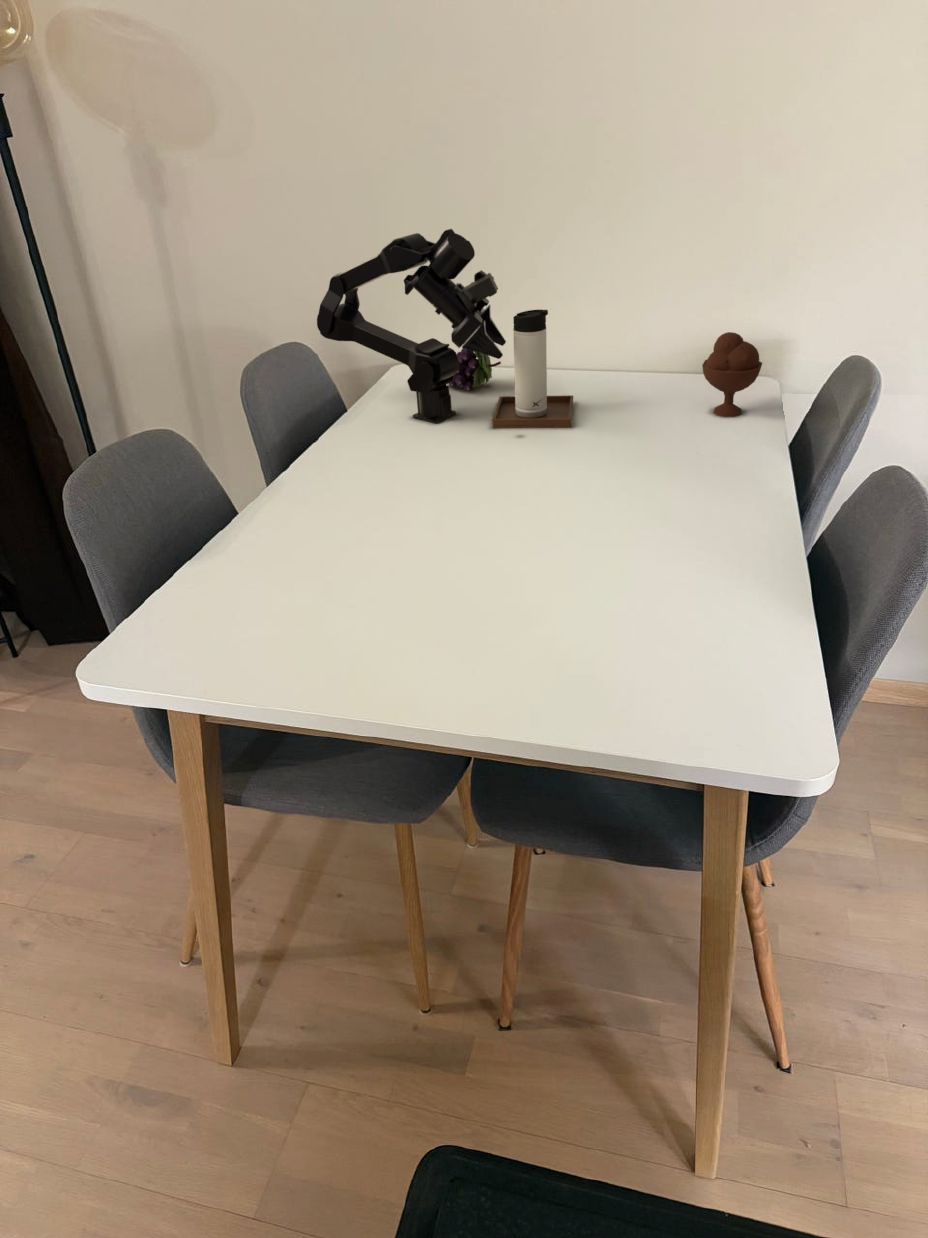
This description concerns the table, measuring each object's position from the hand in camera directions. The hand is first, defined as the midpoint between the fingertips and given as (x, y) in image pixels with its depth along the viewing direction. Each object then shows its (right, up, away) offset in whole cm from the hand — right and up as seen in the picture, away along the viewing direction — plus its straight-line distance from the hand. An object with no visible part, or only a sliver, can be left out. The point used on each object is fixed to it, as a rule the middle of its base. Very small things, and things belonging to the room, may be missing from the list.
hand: (502, 350), depth 174 cm
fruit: (-6, -1, +24) cm, 25 cm away
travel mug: (+6, -11, +6) cm, 14 cm away
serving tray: (+7, -11, +6) cm, 14 cm away
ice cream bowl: (+44, -12, +2) cm, 45 cm away
